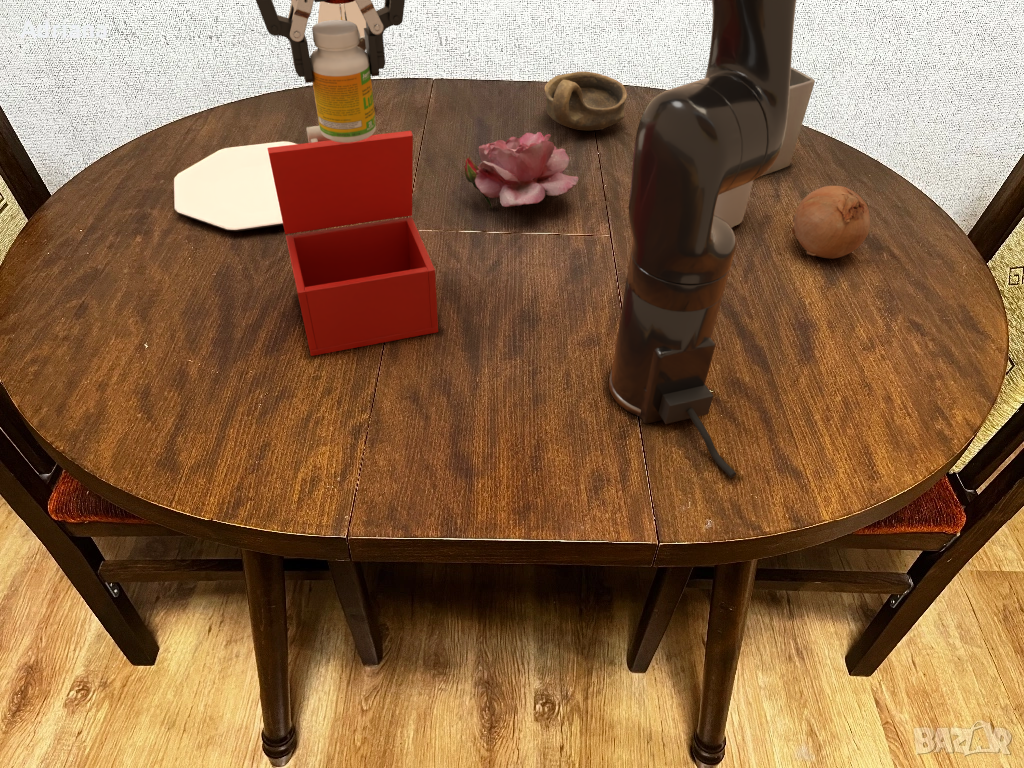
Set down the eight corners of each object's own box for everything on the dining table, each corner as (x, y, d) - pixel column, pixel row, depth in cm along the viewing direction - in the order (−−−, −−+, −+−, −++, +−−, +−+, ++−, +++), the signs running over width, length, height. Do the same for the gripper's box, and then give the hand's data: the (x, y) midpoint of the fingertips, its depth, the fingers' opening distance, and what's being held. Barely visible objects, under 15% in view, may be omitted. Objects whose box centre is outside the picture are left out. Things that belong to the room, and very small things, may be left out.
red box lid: (413, 135, 79) (402, 104, 81) (268, 153, 76) (261, 119, 78) (412, 215, 90) (403, 185, 92) (285, 234, 86) (278, 203, 88)
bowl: (637, 118, 131) (645, 59, 124) (592, 159, 120) (598, 97, 113) (566, 99, 136) (570, 41, 129) (516, 137, 125) (518, 76, 118)
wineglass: (355, 125, 126) (341, 10, 114) (318, 113, 129) (300, -1, 117) (387, 108, 131) (376, -4, 119) (351, 96, 134) (337, -14, 122)
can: (742, 236, 105) (764, 155, 97) (687, 229, 106) (705, 148, 98) (741, 208, 110) (762, 129, 102) (689, 202, 111) (706, 123, 103)
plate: (176, 162, 116) (173, 153, 115) (333, 144, 121) (331, 135, 120) (177, 247, 99) (174, 237, 98) (359, 221, 105) (357, 211, 104)
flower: (600, 189, 107) (586, 120, 102) (519, 235, 102) (500, 165, 96) (537, 175, 118) (521, 112, 113) (461, 216, 113) (440, 152, 107)
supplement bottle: (377, 142, 73) (366, 36, 66) (319, 145, 72) (302, 39, 65) (375, 118, 77) (365, 15, 70) (321, 120, 76) (304, 17, 69)
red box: (438, 332, 89) (435, 269, 82) (310, 356, 85) (297, 292, 79) (416, 277, 96) (411, 216, 90) (298, 297, 93) (285, 235, 86)
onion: (837, 281, 103) (886, 242, 94) (774, 257, 102) (816, 215, 93) (844, 226, 107) (891, 183, 98) (783, 202, 106) (825, 157, 97)
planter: (788, 190, 114) (829, 59, 101) (735, 182, 116) (768, 51, 102) (790, 142, 126) (826, 19, 113) (741, 135, 127) (771, 13, 114)
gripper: (218, -131, 55) (265, 101, 66) (415, -138, 58) (427, 84, 70) (213, -150, 60) (258, 68, 71) (394, -155, 63) (409, 54, 75)
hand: (341, 75), depth 71 cm, fingers closed on supplement bottle, 5 cm apart
